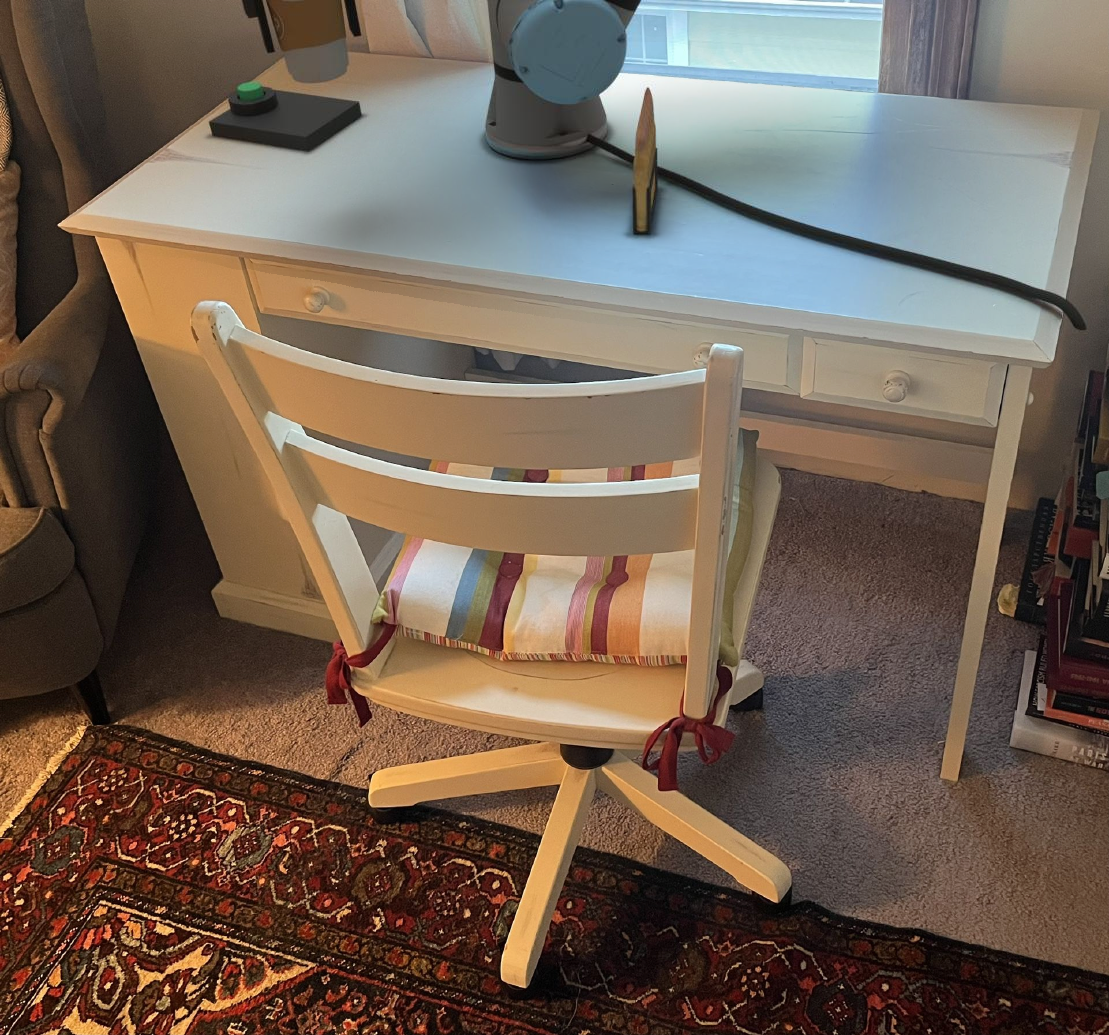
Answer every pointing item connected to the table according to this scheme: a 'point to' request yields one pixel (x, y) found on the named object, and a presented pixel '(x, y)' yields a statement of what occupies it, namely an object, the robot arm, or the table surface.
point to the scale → (285, 119)
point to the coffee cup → (311, 38)
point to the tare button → (250, 91)
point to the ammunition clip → (645, 168)
